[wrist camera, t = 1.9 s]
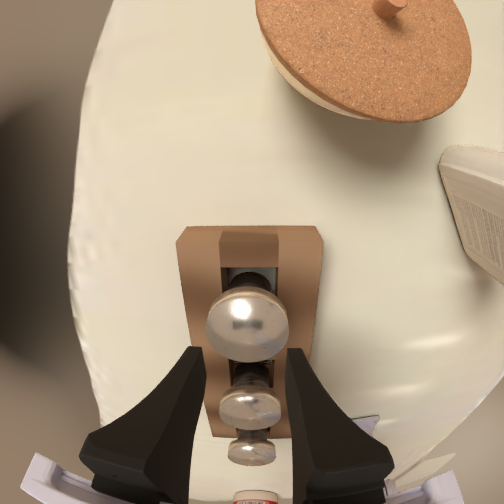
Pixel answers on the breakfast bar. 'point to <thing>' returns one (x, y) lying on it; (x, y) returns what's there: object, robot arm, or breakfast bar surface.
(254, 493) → the fruit juice
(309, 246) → the bar
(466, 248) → the photo printer
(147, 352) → the breakfast bar surface
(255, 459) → the knob
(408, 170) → the breakfast bar surface
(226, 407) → the knob middle
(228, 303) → the knob
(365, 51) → the lidded jar
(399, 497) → the robot arm
